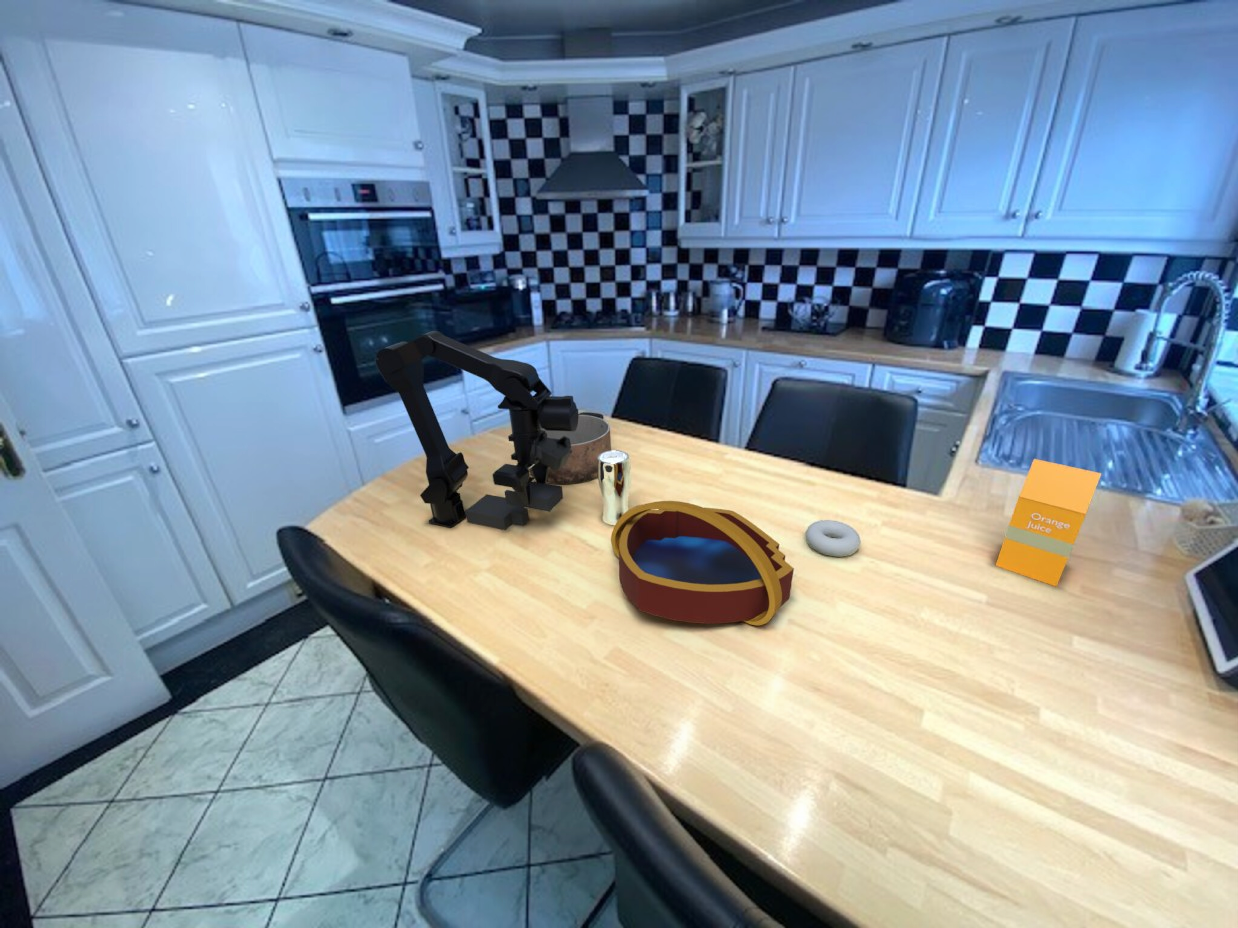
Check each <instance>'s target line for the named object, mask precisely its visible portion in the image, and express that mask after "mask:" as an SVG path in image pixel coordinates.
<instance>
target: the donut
mask: <svg viewBox="0 0 1238 928" xmlns="http://www.w3.org/2000/svg"><path fill="white" fill-rule="evenodd" d="M805 540H806V542H807V544H808V546H810V547H811V548H812V549H814V550H815V551H816V552H818V553H820V554H822V555H826V556H829V557H847V556H850V555H853V554H854V553H856V552H857V551H858V550H859V548H860V545H861V537H860V534H859V533H858V532H857V530H856V529H855V528H853V527H852V526H851V525H849V524H847V523H844V522H842V521H838V520H832V519H823V520H822V519H820V520H817V521H815V522H813V523H811V524H809V525H808V527H807V528H806V530H805Z"/></svg>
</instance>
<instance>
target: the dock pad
mask: <svg viewBox="0 0 1238 928" xmlns="http://www.w3.org/2000/svg"><path fill="white" fill-rule="evenodd" d="M464 511H465V513H466V517H465V518H466V522H467V523H469V524H474V525H478V526H482V527H483V526H484V527H489V528H493V529H497V530H503V531H506V530H507V529H508V528H509V527H511V526H512V525H517V526H521V527H523V526H525V525H526V524H527V523H528V522H529V521H530V514H529V508H525V507H520V506H514V505H509V504H506V500H505V496H500V495H499V496H498V495H495V494H494V495H493V494H485V495H483V496H482V497H481V498H480V499H478V501H476V502H474V503H473V504H472V505H470V507H468V508H467V509H465V510H464Z"/></svg>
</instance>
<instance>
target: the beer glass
mask: <svg viewBox="0 0 1238 928" xmlns="http://www.w3.org/2000/svg"><path fill="white" fill-rule="evenodd" d="M631 477H632V475H631V461H630V455H629V453H628V452H626V451H624V450H619V449H618V450H617V449H613V450H612V449H611V451H605V452H603V453H601V454H599V455H598V478H597V482H598V486H599V490H600V495H601V498H602V503H603V504H602V505H603V511H602V521H603V523H605V524H607V525H609V526H615V525H616V523H617V521H618V520H619V519H620V517H621V516H622V515H623V514H624V513H625V512H627V511H628V510H630V508H629V494H630V488H631V481H632V478H631Z"/></svg>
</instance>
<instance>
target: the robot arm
mask: <svg viewBox="0 0 1238 928" xmlns="http://www.w3.org/2000/svg"><path fill="white" fill-rule="evenodd" d="M427 357H431V358H435V359H436V360H439V361H441V362H444V363H446V364H448V365H450V366H453V367H455V368H458V369H460V370H462V371H464V372H467V373H469V374H471V375H474V376H476V377H478V378H481V379H483V381H486V382H488V383H489V384H490V385H491V387H492V388H493V389H494V390H495V391H496V392H498V393H500V394H501V395H503V396H504V397H503V399H502V401H501V402H500V403H499V404H498V405H497V408H498V409H499V410H508V413H509V420H510V426H511V427H510V428H511V434H509V435H508V437H507V439H508V442H513V450H514V452H513V453H512V454H510V459H511V461H516V462H517V463H516V464H510V463H504V464H503V465H502V466H501V467H499V468H498V469H496V470H495V471H494V472H493V473H492V475H491V476H492V480H493V485H495V486H501V487H506V488H511V489H512V490H513V491H515V492H516V493H517V495H518V496H519V497H520V499H521V500H522V501H523V503H524V504H526V505H529V504H530V483H531V482H532V481H533V482H534V480H535V482H539V483H545V484H548V483H547V478H548V473H549V469H550V468H551V469H553V470H556V471H557V470H560V469H561V467H562V466H564V465H565V464H566V463H567V460H568V456H569V455H570V454H571V453H572V450H571V444H570V439H569V438H567V437H565V436H563V437H562V438H560V439H553V438H547V433H546V432H545V431H544V430H541V428H543V429H545V430H548V431H575V430H576V428H577V425H578V414H579V408H578V407H577V404H576V402H575V401H574V395H563V396H562V395H561V396H558V395H557V396H555V395H552V391H551V390H550V389H549V387H548V386H547V385H546V383H544V382H543V381H542V379H541V378H540V377H539V374H538V371H537V369H536V367H535V366H533V365H532V364H530V363H528V362H524V361H519V360H514V359H505V358H498V357H495V356H492V355H490V354H488V353H486V352H484V351H481V350H479V349H476V348H474V347H472V346H470V345H467V344H465V343H463V342H460V341H459V340H456V339H454V338H451V337H449V336H446V335H444V333H442V332H441V331H437V330H431V331H428V332H426V333H424V334H422V335H420V336H418V338H416V339H413V340H411V341H409V342H407V341H400V342H397V343H395V344H392V345H389V346H386V347H383V348H381V349H379V350H378V352H377V353H376V356H375V358H374V362H375V366H376V369H377V370H378V371H379V373H380V375H381V376H382V378H383V380H384V381H385V383H387V384H388V385H389V386H390V387H391V388H392V389H394V390H395V391H396V392H397V394H398V395H399V397H400V399H401V401H402V403H403V406H404V408H405V411H406V413H407V415H408V418H409V420H410V422H411V425H412V427H413V429H414V431H415V433H416V436H417V438H418V440H419V443H420V445H421V447H422V450H423V452H424V455H425V459H426V460H425V461H426V462H425V474H426V478H427V479H426V480H427V482H428V485H427V486H426V488H425V489H424V490H423V491H422V492H421V494H419V496H420V498H421V500H422V501H423V503H424V504H429V505H430V510H431V515H432V517H431V518H430V519H429V520H428V524H430V525H436V526H441V527H446V528H449V529H450V528H453V527H455V526H456V525H457V524H458V523H460V522H461V521H463V520H464V519H465V518H466V513H465V511H466V510H465V506H464V502H463V500H462V496H461V493H460V492H458V491H459V490H460V489H461V488H462V487H463V485H464V482H465V481H466V479H467V478H468V476H469V471H468V469H469V465H468V464H467V463H466V459H465V456H464V454H463V452H461V451H460V452H457V453H456V452H455V451H454V450H452V449H451V448H450V446H449V445H448V442H447V439H446V437H445V434H444V432H443V430H442V427H441V425H440V423H439V420H438V417H437V415H436V412H435V410H434V407H433V406H432V403H431V401H430V399H429V396H428V393H427V391H426V388H425V386H424V373H425V372H424V371H425V368H424V363H423V359H425V358H427ZM532 392H534V394H533V395H532ZM530 468H532V471H533V474H534V476H531V473H530V471H529V469H530Z"/></svg>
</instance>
